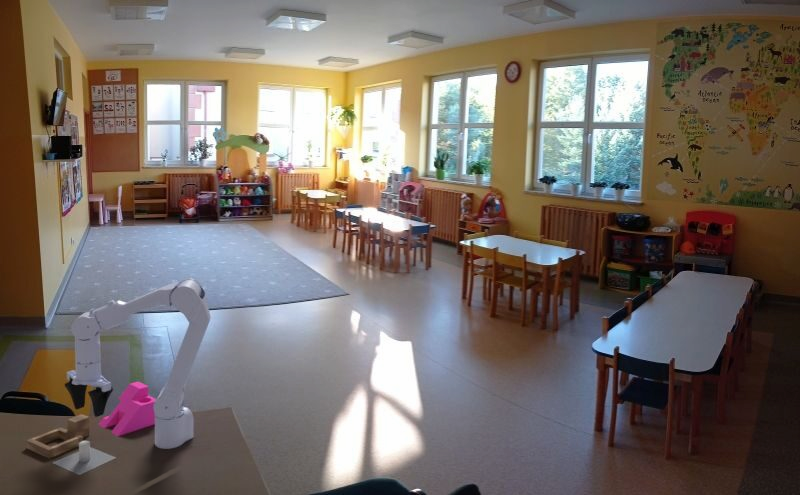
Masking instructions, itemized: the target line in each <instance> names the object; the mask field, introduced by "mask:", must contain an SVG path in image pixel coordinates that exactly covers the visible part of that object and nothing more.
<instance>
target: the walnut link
mask: <svg viewBox="0 0 800 495" xmlns="http://www.w3.org/2000/svg"><path fill="white" fill-rule="evenodd" d="M87 437H90V416H88V415H86V414H82V413H81V414H78V415H76V416H72V417H71V418H67V429H65V428H63V427H61V426H60V427H58V428H54V429H52V430H49V431H48V432H44V433H43V434H39V435H37V436H35V437H30V438H29V439H26V449H28V450H29V451H32V452H33V453H36V454H38V455H41V456H42V457H45V458H47V459H52V458H54V457H57V456H59V455H61V454H63V453H66V452H68V451H70V450H71V451H72V450H73V449H76V448H79V443H80V442H81V441H84V439H85V438H87ZM57 439H61V440H62V442H59V443H57V444H55V445H53V446H50V445H47V444H48V443H50V442H53V441H56V440H57Z"/></svg>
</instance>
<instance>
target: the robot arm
mask: <svg viewBox="0 0 800 495" xmlns="http://www.w3.org/2000/svg"><path fill="white" fill-rule="evenodd" d="M178 283H179V284H178ZM207 300H208V299H207V293H206V291H205V289H204V287H203V286H202V285H201V283H200V282H199V281H198V280H196V279H193V278H185V279H182V281H181V282H179V281H177V282H172V283H170V284H167V285H164V286H161V287H159V288H157V289H155V290H152V291H150V292H147V293H146V294H143V295H141V296H139V297H137V298H134V299H132V300H129V301H127V302H126V301H123V300H119V299H118V300H117V301H115V300H114V299H112V300H110V301H108V302H107V304H106V305H104V306H101V307H99V308H91V309H89V310H88V311H86V312H84V313H82V314H81V315H79V316H78V317H76V318H75V320H74V321H73V322H72V324H71V328H70V330H71V333H72V335H73V336H74V358H75V359H74V361H75V362H74V363H75V370H74V369H72V370H69V371H67V372H66V380H68V381H67V382H65V383H64V388H66V390H67V391H68V393H69V395H70V397H71V401H72V403H73V407H74V409H75V410H79V409H82V408H85V405H86V393H87V394H88V396H89V397H90V400H91V402H92V411H93V416H94V417H95V418H98V417H100V416H103V415H104V414H105V410H106V406H107V402H108V400H109V398H110V396H111V394H112V392H113V391H114V388H113V387H112V382H111V381H108V380H107V379H106V378H105V377H104V376H103V375H102V362H101V361H102V360H101V357H102V356H101V337H100V336H101V333H100V332H106V331H108V330H109V329H112V328H114V327H117V326H121V325H122V324H123V325H124V324H125V323H127V322H129V320H130V319H131V316H132V315H133V314H136V313H139V312H143V311H145V310H147V309H151V308H153V307H156V306H159V305H162V306H165V307H167V308H171V307H172V306H173V307H174V308H175V309H176V310H177V311H179V312H180V313H181V314H182V315H184V318H186V320H187V322H188V326H187V329H186V332H185V334H184V336H183V339H182V342H181V345H180V347H179V349H178V353H177V355H176V357H175V359H174V363H173V365H172V368H171V370H170V373H169V375H168V378H167V381H166V382H165V384H164V385H163V386H162V387H161V389H160V392H159V394H158V396H157V398H155V399H156V401H155V402H154V406H153V409H154V412H155V424H154V445H155V446H156V448H159V449H164V450H165V449H167V450H168V449H169V450H170V449H174V448H177V447H180V446H182V445H183V444H185V442H188V441H190V440H191V439H193V438H194V431H195V430H194V415H193V412H192V411H191V410H190V409H189V408H188V407H186V406H183V405H182V402H183V401H184V399H185V397H186V392H185V391H186V390H185V386H186V384H187V380H188V378H189V376H190V372H191V370H192V368H193V366H194V363H195V360H196V358H197V355H198V353H199V350H200V347H201V344H202V342H203V339H204V337H205V334H206V331H207V329H208V326H209V324H210V321H211V314H210V308H209V304H208V301H207ZM88 386H90V387H93V388H95V389H92V390H89V391H88V392H86V391H87V388H88Z"/></svg>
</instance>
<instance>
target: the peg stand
mask: <svg viewBox="0 0 800 495" xmlns="http://www.w3.org/2000/svg"><path fill="white" fill-rule="evenodd" d="M115 459H117V457H116V456H114V455H111V454H109V453H106V452H104V451H101V450H98V449H96V448H94V447H91V441H90V440H83V441H81V442H80V443H79V446H78V451H76V452H74V453H72V454H70V455H67V456H65V457H63V458H61V459H58V460H56V461H53V462H52V464H53V465H56V466H58V467H60V468H62V469H64V470H67V471H69V472H72V473H73V474H76V475H78V476H80V475H83V474H85V473H87V472H89V471H91V470H93V469H96V468H98V467H99V466H100V467H101V466H102V465H104V464H107V463H108V462H110V461H112V460H115Z"/></svg>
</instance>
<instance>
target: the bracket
mask: <svg viewBox="0 0 800 495" xmlns="http://www.w3.org/2000/svg"><path fill="white" fill-rule="evenodd" d="M118 399H119V400H120V402H119V403H118V404H117V405H116V406H115V408H114V409H113V411H112V412H111V413H110V414H109V415H108V416H105V417H102V419H101V420H100V422H99V423H98V426H100V427H102V428H103V429H106V428H110V427H113V426H114V427H113V429H112V430H111V432H110V433H111V434H113V435H115V436H116V437H119V436H123V435H125V434H129V433H132V432H134V431H139V430H141V429H145V428H146V427H150V426H153V425H154V426H155V412H154V409H153V406H154V402H155V401H156V399H157V398H154V397H153V396H151V395H149V385H146V384H145V383H142V382H141V381H136V382H135V381H134V382H132V383H129V385H127V386H126V388H125V390H124V391H123V392H122V394H120V396H119V397H118Z"/></svg>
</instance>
